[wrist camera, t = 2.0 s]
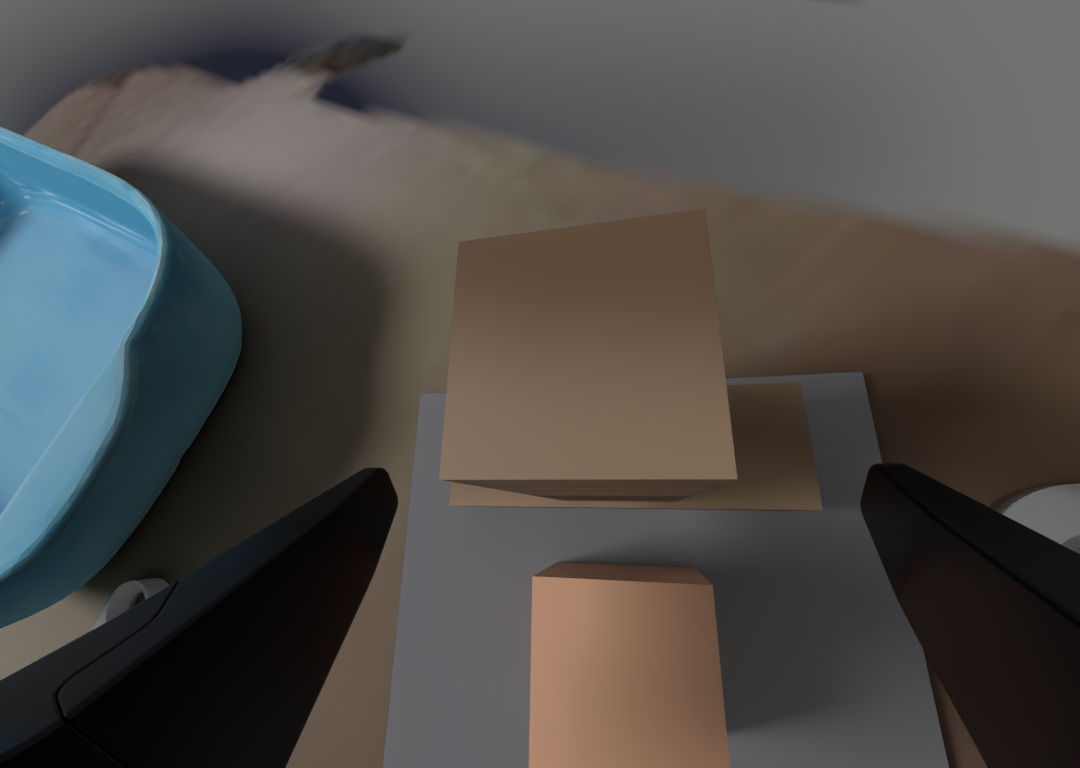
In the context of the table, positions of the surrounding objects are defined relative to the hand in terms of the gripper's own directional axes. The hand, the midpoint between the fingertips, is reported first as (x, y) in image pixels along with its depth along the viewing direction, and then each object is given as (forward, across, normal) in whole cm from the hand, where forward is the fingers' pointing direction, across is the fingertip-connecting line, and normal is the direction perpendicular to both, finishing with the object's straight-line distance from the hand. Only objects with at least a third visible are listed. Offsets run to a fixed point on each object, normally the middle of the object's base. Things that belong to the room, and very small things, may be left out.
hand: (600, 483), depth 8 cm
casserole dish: (+12, +35, +1) cm, 37 cm away
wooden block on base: (+7, 0, +5) cm, 9 cm away
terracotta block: (+3, 0, +10) cm, 10 cm away
